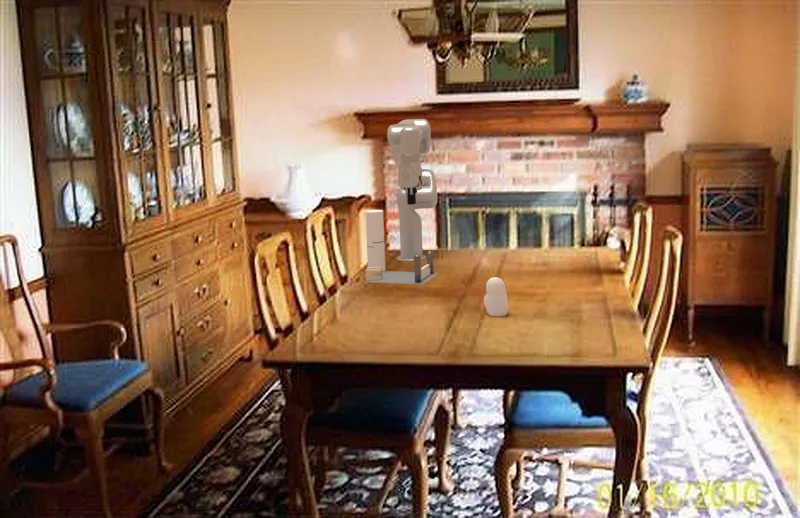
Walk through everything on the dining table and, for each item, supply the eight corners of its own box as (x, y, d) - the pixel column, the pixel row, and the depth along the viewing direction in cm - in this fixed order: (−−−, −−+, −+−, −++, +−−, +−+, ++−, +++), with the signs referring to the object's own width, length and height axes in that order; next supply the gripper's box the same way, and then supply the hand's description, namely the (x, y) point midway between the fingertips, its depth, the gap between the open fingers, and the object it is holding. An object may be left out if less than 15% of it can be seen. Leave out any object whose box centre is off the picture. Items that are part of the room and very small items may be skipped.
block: (367, 277, 362) (366, 267, 361) (382, 276, 361) (382, 266, 360) (365, 280, 356) (365, 270, 355) (381, 280, 355) (380, 270, 355)
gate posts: (428, 272, 365) (427, 246, 363) (434, 273, 364) (434, 246, 362) (413, 282, 348) (412, 255, 346) (420, 283, 347) (419, 255, 345)
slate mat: (385, 272, 372) (385, 271, 372) (439, 274, 365) (439, 272, 365) (366, 283, 353) (366, 282, 353) (423, 285, 345) (423, 284, 345)
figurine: (501, 309, 305) (500, 274, 302) (512, 314, 298) (511, 278, 295) (482, 312, 302) (481, 276, 300) (492, 317, 295) (491, 281, 293)
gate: (426, 273, 362) (426, 262, 361) (430, 274, 361) (430, 262, 360) (417, 280, 351) (417, 268, 350) (421, 280, 350) (420, 268, 349)
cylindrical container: (385, 273, 371) (382, 211, 366) (367, 273, 371) (364, 212, 367) (385, 269, 378) (383, 209, 373) (368, 270, 378) (365, 210, 374)
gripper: (390, 158, 370) (392, 204, 373) (417, 160, 359) (418, 206, 363) (403, 157, 375) (404, 202, 378) (430, 158, 365) (431, 204, 368)
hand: (411, 204), depth 371 cm, fingers closed
